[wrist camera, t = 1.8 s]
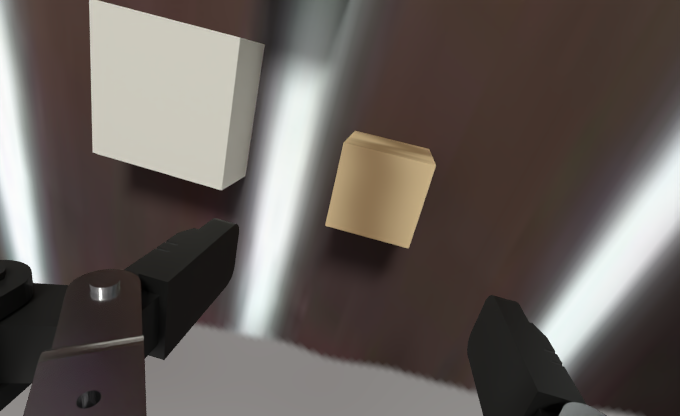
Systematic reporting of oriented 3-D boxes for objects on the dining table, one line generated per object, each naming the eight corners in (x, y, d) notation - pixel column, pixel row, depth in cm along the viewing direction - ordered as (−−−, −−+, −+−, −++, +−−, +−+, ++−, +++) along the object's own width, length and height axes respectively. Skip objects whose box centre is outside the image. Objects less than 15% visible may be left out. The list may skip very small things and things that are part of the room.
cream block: (266, 45, 23) (240, 37, 19) (247, 174, 26) (221, 190, 22) (139, 11, 23) (89, -2, 20) (136, 142, 27) (92, 152, 23)
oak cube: (429, 148, 23) (436, 165, 18) (407, 217, 25) (408, 248, 20) (355, 130, 23) (343, 142, 19) (339, 199, 25) (325, 225, 20)
